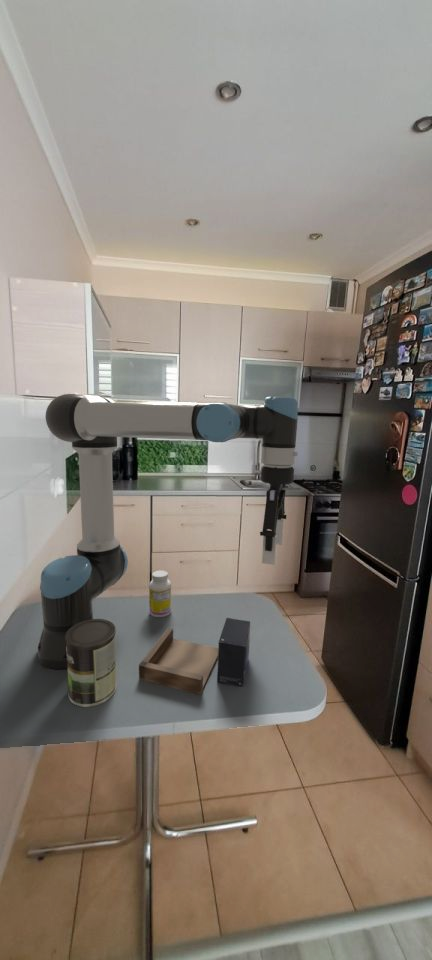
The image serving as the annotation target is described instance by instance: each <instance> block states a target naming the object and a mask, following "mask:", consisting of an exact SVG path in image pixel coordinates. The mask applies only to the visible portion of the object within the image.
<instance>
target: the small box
mask: <svg viewBox="0 0 432 960" xmlns="http://www.w3.org/2000/svg"><path fill="white" fill-rule="evenodd" d="M250 636H251V621H249V620H242V619H238V618H237V619H236V618H230V617H226V618H225V622H224V625H223V627H222V630H221V633H220V637H219V640H218V645H217V646H218V647H217V648H218V658H217V675H216V683H219V684H225V685H230V686H235V687H236V686H237V687H244V682H245V679H246V678H245V677H246V673H247V669H248V668H247V667H248V662H249V656H250V641H251V640H250V639H251V638H250Z"/></svg>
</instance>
